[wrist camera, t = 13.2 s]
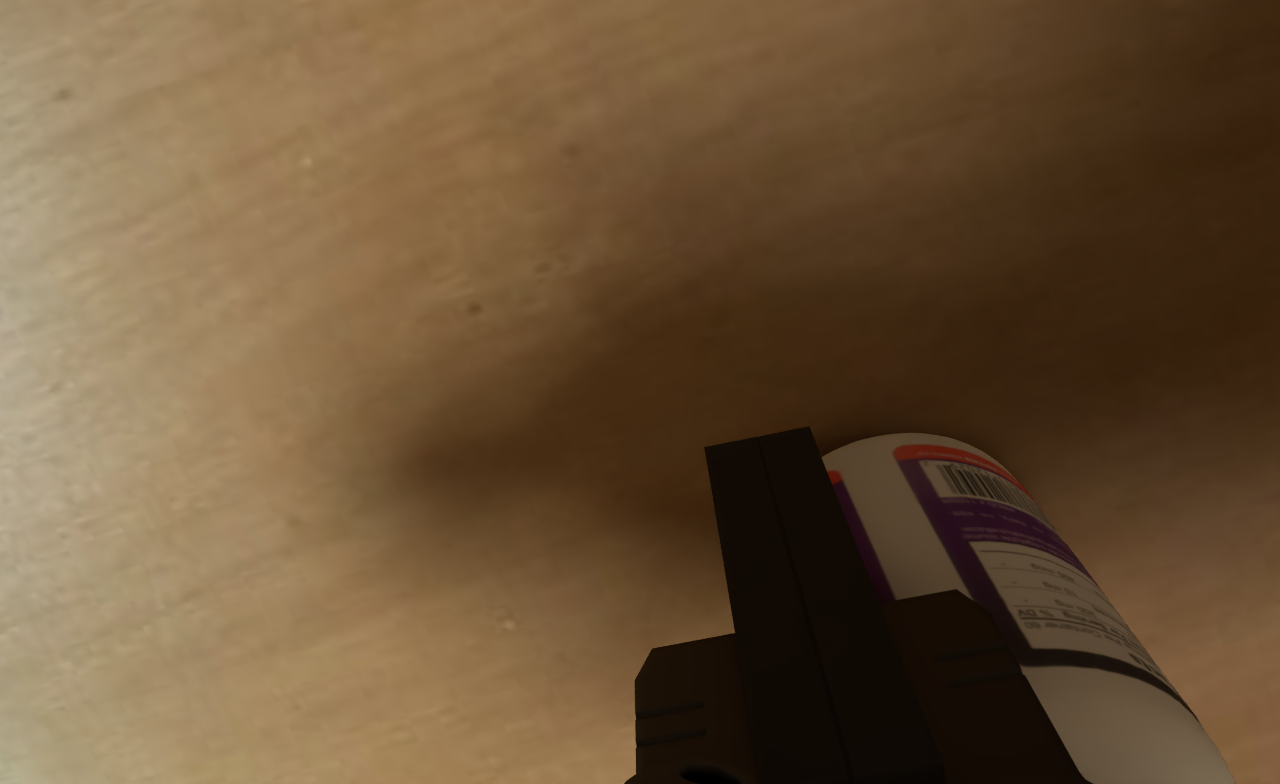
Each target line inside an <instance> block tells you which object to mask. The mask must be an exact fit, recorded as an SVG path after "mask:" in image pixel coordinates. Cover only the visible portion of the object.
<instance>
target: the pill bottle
mask: <svg viewBox="0 0 1280 784" xmlns="http://www.w3.org/2000/svg"><path fill="white" fill-rule="evenodd" d="M822 460H823V462H824V465H825V467H826V470H827V472H828V475H829V477H830V480H831V482H832V485H833V488H834V490H835V493H836V495H837V498H838V500H839V503H840V505H841V508H842V510H843V513H844V515H845V518H846V520H847V523H848V525H849V528H850V530H851V533H852V535H853V538H854V540H855V543H856V545H857V548H858V550H859V553H860V555H861V558H862V560H863V563H864V565H865V568H866V570H867V573H868V575H869V578H870V580H871V583H872V585H873V588H874V590H875V593H876V595H877V598H878V601H879V603H884V602H889V601H894V600H900V599H905V598H910V597H916V596H921V595H926V594H932V593H937V592H943V591H948V590H953V589H957V590H959V591H960V592H962V593H963V594H964V595H966V596H967V597H969V598H970V599H972V600H973V601H975V602H976V603H977V604H979V605H980V606H982V607H983V608H985V609H986V610H988V611H989V612H990V613H991V615H992V617H993V619H994V621H995V622H996V624H997V626H998V628H999V629H1000V631H1001V633H1002V635H1003V637H1004V638H1005V640H1006V642H1007V646H1008V649H1011V651H1012V653H1013V654H1014V656H1015V658H1016V660H1017V662H1018V663H1019V665H1020V667H1021V670H1022V673H1023V675H1025V676H1026V678H1027V679H1028V681H1029V683H1030V685H1031V686H1032V688H1033V690H1034V692H1035V694H1036V695H1037V697H1038V699H1039V701H1040V702H1041V704H1042V706H1043V708H1044V710H1045V711H1046V713H1047V715H1048V717H1049V719H1050V720H1051V722H1052V724H1053V726H1054V727H1055V729H1056V731H1057V733H1058V735H1059V736H1060V738H1061V740H1062V742H1063V743H1064V745H1065V747H1066V749H1067V751H1068V752H1069V754H1070V756H1071V758H1072V759H1073V761H1074V763H1075V765H1076V767H1077V768H1078V770H1079V772H1080V773H1081V774H1082V776H1083V777H1084V778H1085V779H1086V780H1087V781H1089V782H1091V783H1093V784H1235V782H1234V780H1233V777H1232V775H1231V773H1230V770H1229V768H1228V766H1227V764H1226V762H1225V761H1224V759H1223V757H1222V756H1221V754H1220V752H1219V751H1218V749H1217V747H1216V746H1215V744H1214V743H1213V741H1212V740H1211V738H1210V737H1209V736H1208V734H1207V733H1206V731H1205V730H1204V728H1203V727H1202V725H1201V724H1200V722H1199V720H1198V719H1197V717H1196V716H1195V715H1194V713H1193V712H1192V711H1191V709H1190V708H1189V707H1188V705H1187V704H1186V703H1185V701H1184V700H1183V699H1182V697H1181V696H1180V695H1179V694H1178V692H1177V691H1176V690H1175V688H1174V687H1173V686H1172V684H1171V683H1170V682H1169V680H1168V679H1167V678H1166V676H1165V675H1164V674H1163V672H1162V671H1161V670H1160V668H1159V667H1158V666H1157V664H1156V663H1155V662H1154V660H1153V659H1152V658H1151V656H1150V655H1149V654H1148V652H1147V651H1146V650H1145V648H1144V647H1143V646H1142V644H1141V643H1140V642H1139V640H1138V639H1137V638H1136V636H1135V635H1134V634H1133V632H1132V631H1131V630H1130V628H1129V627H1128V626H1127V624H1126V623H1125V622H1124V620H1123V619H1122V618H1121V616H1120V615H1119V613H1118V612H1117V611H1116V609H1115V608H1114V607H1113V605H1112V604H1111V603H1110V601H1109V600H1108V599H1107V597H1106V596H1105V595H1104V593H1103V592H1102V590H1101V589H1100V588H1099V586H1098V585H1097V584H1096V582H1095V581H1094V580H1093V578H1092V577H1091V576H1090V574H1089V573H1088V572H1087V570H1086V569H1085V568H1084V566H1083V565H1082V564H1081V562H1080V561H1079V560H1078V558H1077V557H1076V556H1075V554H1074V553H1073V552H1072V550H1071V549H1070V548H1069V547H1068V545H1067V544H1066V543H1065V541H1064V540H1063V539H1062V537H1061V536H1060V535H1059V534H1058V532H1057V531H1056V530H1055V528H1054V527H1053V525H1052V524H1051V522H1050V521H1049V520H1048V518H1047V517H1046V516H1045V515H1044V513H1043V512H1042V511H1041V509H1040V508H1039V507H1038V505H1037V504H1036V502H1035V501H1034V500H1033V499H1032V497H1031V496H1030V495H1029V493H1028V492H1027V491H1026V490H1025V489H1024V488H1023V487H1022V486H1021V484H1020V483H1019V482H1018V481H1017V480H1016V479H1015V478H1014V477H1013V475H1012V474H1011V473H1010V472H1009V471H1008V470H1007V469H1005V468H1004V467H1003V466H1002V465H1001V464H1000V463H999V462H997V461H996V460H995V459H993V458H992V457H991V456H989V455H987V454H986V453H984V452H983V451H981V450H979V449H977V448H975V447H973V446H971V445H969V444H966V443H964V442H961V441H959V440H956V439H953V438H949V437H944V436H939V435H933V434H924V433H897V434H888V435H881V436H876V437H871V438H867V439H863V440H859V441H856V442H853V443H850V444H848V445H845V446H843V447H841V448H838V449H836V450H834V451H832V452H830V453H828V454H826V455H824V456H823V457H822Z"/></svg>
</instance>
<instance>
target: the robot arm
mask: <svg viewBox="0 0 1280 784" xmlns="http://www.w3.org/2000/svg"><path fill="white" fill-rule="evenodd" d="M704 448H705V454H706V460H707V466H708V472H709V478H710V484H711V490H712V496H713V502H714V508H715V514H716V520H717V526H718V532H719V538H720V544H721V550H722V556H723V562H724V568H725V574H726V580H727V586H728V592H729V599H730V605H731V611H732V617H733V623H734V629H735V633H733V634H728V635H722V636H717V637H712V638H706V639H701V640H696V641H690V642H685V643H679V644H674V645H669V646H663V647H658V648H653V649H652V650H651V651H650V653H649V655H648V657H647V659H646V661H645V663H644V664H643V666H642V668H641V670H640V672H639V674H638V675H637V677H636V679H635V714H636V720H635V726H636V745H637V748H636V775H634V776H633V777H631V778H630V779H628V780H627V781H626V782H625V783H624V784H1093V783H1091V782H1089V781H1087V780H1086V779H1085V778H1084V777H1083V776H1082V774H1081V773H1080V772H1079V770H1078V768H1077V767H1076V765H1075V763H1074V761H1073V759H1072V758H1071V756H1070V754H1069V752H1068V751H1067V749H1066V747H1065V745H1064V743H1063V742H1062V740H1061V738H1060V736H1059V735H1058V733H1057V731H1056V729H1055V727H1054V726H1053V724H1052V722H1051V720H1050V719H1049V717H1048V715H1047V713H1046V711H1045V710H1044V708H1043V706H1042V704H1041V702H1040V701H1039V699H1038V697H1037V695H1036V694H1035V692H1034V690H1033V688H1032V686H1031V685H1030V683H1029V681H1028V679H1027V678H1026V676H1025V675H1023V673H1022V670H1021V667H1020V665H1019V663H1018V662H1017V660H1016V658H1015V656H1014V654H1013V653H1012V651H1011V649H1008V646H1007V642H1006V640H1005V638H1004V637H1003V635H1002V633H1001V631H1000V629H999V628H998V626H997V624H996V622H995V621H994V619H993V617H992V615H991V613H990V612H989V611H988V610H986V609H985V608H983V607H982V606H980V605H979V604H977V603H976V602H975V601H973V600H972V599H970V598H969V597H967V596H966V595H964V594H963V593H962V592H960V591H959V590H957V589H953V590H948V591H943V592H937V593H932V594H926V595H921V596H916V597H910V598H905V599H900V600H894V601H889V602H884V603H879V601H878V598H877V595H876V593H875V590H874V588H873V585H872V583H871V580H870V578H869V575H868V573H867V570H866V568H865V565H864V563H863V560H862V558H861V555H860V553H859V550H858V548H857V545H856V543H855V540H854V538H853V535H852V533H851V530H850V528H849V525H848V523H847V520H846V518H845V515H844V513H843V510H842V508H841V505H840V503H839V500H838V498H837V495H836V493H835V490H834V488H833V485H832V482H831V480H830V477H829V475H828V472H827V470H826V467H825V465H824V462H823V460H822V457H821V455H820V452H819V450H818V447H817V445H816V442H815V440H814V437H813V435H812V432H811V430H810V427H804V428H799V429H794V430H789V431H784V432H779V433H774V434H769V435H764V436H758V437H753V438H748V439H743V440H738V441H733V442H728V443H723V444H718V445H713V446H708V447H704Z"/></svg>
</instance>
